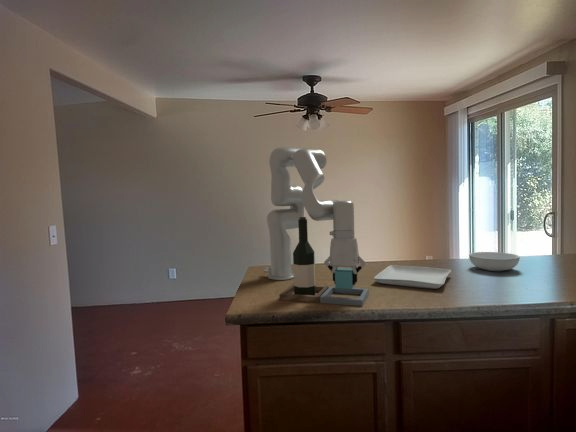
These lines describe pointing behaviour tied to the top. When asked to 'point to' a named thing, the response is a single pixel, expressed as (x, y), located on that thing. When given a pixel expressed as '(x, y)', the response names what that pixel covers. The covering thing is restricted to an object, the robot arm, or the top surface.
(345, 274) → the teal block
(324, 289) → the walnut frame
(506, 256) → the serving bowl
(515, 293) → the top surface
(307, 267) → the wine bottle
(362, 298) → the slate frame
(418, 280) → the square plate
